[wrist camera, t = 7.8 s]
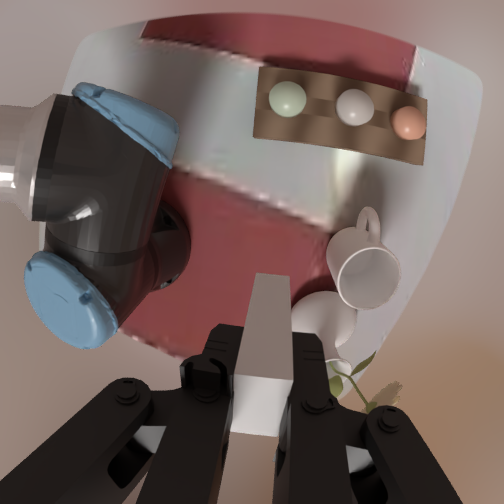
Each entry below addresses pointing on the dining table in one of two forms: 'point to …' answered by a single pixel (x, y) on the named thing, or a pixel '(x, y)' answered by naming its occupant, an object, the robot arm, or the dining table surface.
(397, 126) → the orange egg
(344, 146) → the cardboard egg tray
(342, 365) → the flower in vase
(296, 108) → the sage egg
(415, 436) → the robot arm
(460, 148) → the dining table surface
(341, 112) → the grey egg
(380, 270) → the mug
